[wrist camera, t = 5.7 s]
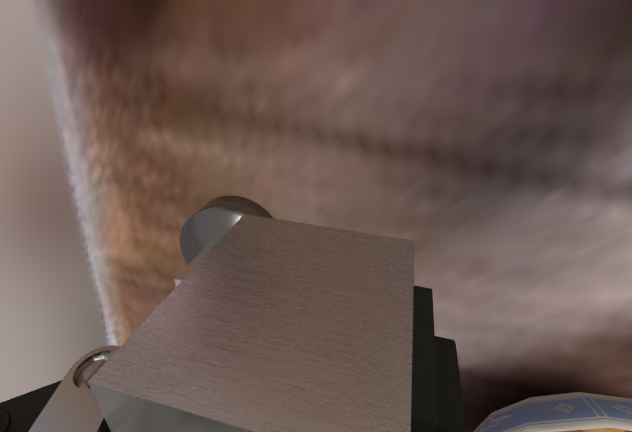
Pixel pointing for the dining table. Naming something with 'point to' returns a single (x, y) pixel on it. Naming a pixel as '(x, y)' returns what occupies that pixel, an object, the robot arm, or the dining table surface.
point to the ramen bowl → (563, 414)
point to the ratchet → (213, 227)
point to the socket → (273, 338)
